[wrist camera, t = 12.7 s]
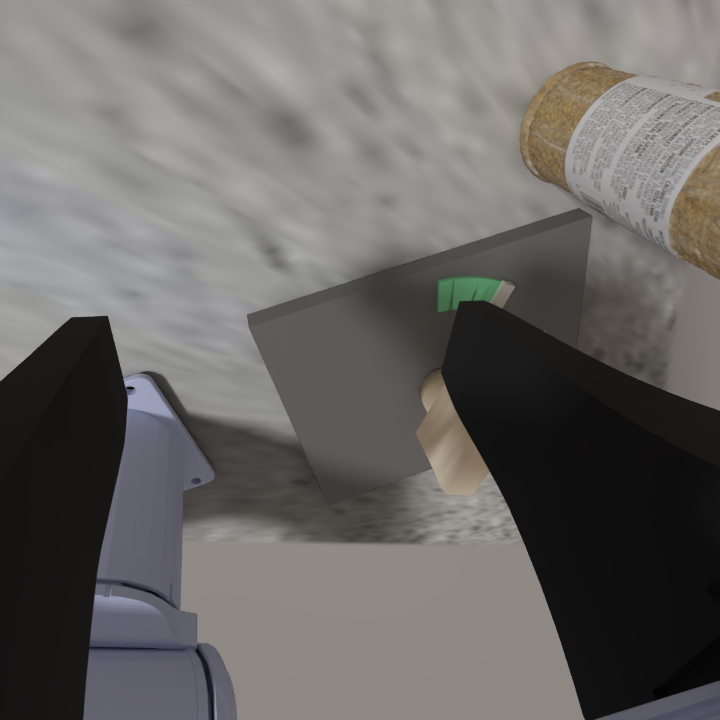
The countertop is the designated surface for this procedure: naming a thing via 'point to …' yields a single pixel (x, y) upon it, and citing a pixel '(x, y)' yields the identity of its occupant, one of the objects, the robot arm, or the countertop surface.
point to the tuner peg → (452, 430)
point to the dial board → (405, 344)
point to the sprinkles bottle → (633, 154)
